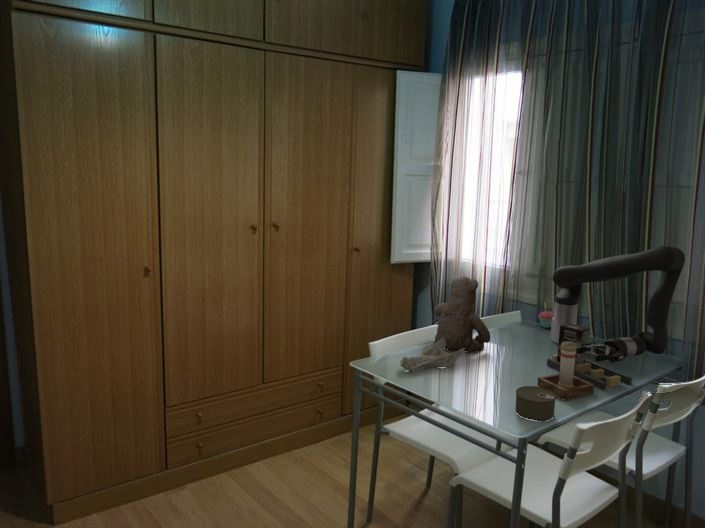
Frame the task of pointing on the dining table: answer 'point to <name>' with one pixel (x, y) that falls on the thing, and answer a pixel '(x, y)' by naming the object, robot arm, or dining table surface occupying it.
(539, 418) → the can
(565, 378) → the fuse
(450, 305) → the toy
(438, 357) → the skull
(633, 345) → the robot arm
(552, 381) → the tray
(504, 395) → the dining table surface
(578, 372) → the block
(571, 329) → the coffee box
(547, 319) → the cupcake
